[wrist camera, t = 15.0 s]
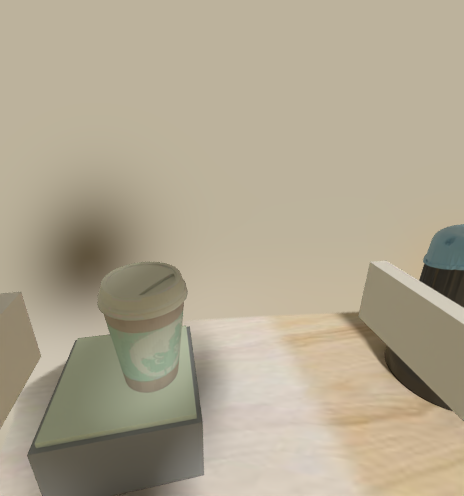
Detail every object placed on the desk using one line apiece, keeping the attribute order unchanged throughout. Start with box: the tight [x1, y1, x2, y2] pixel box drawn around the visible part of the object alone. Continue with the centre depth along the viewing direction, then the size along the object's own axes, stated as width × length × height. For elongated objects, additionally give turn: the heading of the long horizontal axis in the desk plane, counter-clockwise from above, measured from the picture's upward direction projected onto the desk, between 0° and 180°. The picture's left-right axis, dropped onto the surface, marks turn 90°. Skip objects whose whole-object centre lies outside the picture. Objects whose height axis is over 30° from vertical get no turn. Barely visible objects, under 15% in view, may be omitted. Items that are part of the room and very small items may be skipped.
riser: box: [27, 326, 204, 496], centre depth 34 cm, size 15×15×9 cm
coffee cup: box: [98, 262, 187, 393], centre depth 30 cm, size 9×8×12 cm
